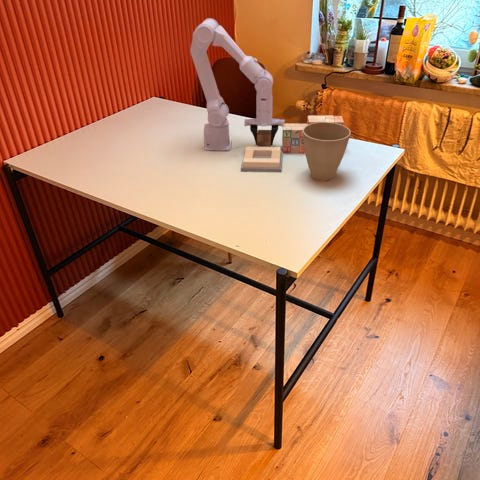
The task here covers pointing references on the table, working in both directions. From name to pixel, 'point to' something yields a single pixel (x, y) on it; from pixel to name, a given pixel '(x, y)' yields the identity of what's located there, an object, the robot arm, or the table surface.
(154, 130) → the table surface
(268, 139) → the walnut block
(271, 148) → the puzzle board
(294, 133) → the stack of blocks
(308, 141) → the plant pot
